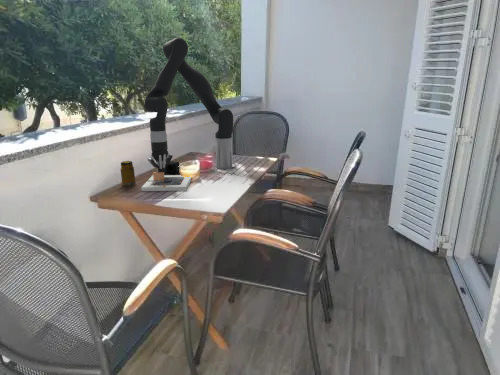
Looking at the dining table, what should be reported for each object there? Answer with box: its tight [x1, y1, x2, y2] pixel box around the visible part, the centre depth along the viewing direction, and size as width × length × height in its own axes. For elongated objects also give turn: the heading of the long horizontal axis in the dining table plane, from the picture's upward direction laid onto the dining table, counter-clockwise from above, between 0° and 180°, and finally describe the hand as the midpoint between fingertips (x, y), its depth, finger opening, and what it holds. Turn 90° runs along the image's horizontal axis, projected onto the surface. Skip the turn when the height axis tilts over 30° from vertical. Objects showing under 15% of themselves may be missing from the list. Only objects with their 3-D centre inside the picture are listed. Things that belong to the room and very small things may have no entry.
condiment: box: [120, 160, 136, 188], centre depth 167 cm, size 7×8×12 cm
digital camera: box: [164, 160, 180, 175], centre depth 188 cm, size 10×5×7 cm, turn 73°
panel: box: [141, 174, 192, 192], centre depth 169 cm, size 20×20×3 cm
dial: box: [152, 171, 181, 185], centre depth 168 cm, size 12×11×6 cm
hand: (161, 175), depth 172 cm, fingers closed
